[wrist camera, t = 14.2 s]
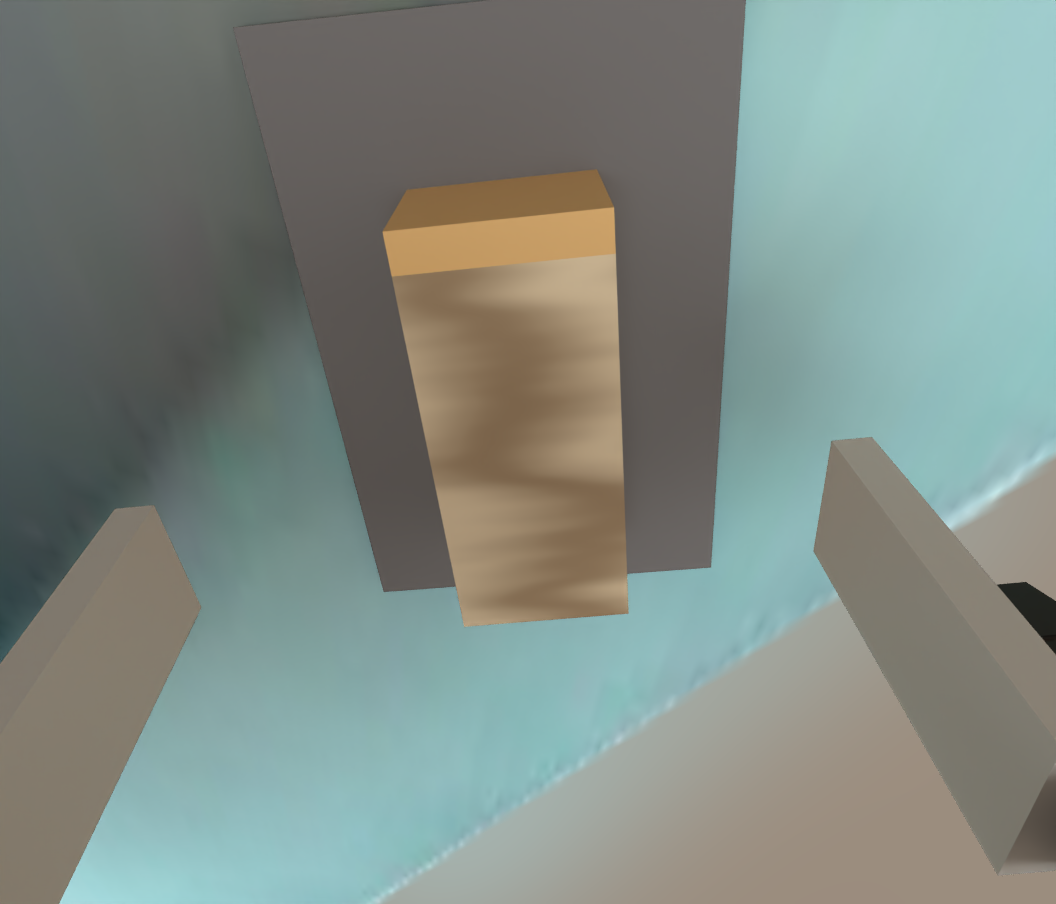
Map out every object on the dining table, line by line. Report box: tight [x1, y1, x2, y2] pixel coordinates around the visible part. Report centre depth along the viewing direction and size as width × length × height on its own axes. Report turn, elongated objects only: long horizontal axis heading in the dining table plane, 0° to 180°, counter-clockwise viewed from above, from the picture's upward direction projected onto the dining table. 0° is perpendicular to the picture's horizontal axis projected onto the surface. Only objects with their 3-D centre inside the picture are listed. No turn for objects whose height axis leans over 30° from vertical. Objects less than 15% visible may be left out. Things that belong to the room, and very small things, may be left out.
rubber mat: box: [233, 0, 746, 592], centre depth 22 cm, size 12×18×1 cm, turn 5°
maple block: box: [383, 169, 628, 627], centre depth 20 cm, size 5×4×12 cm
